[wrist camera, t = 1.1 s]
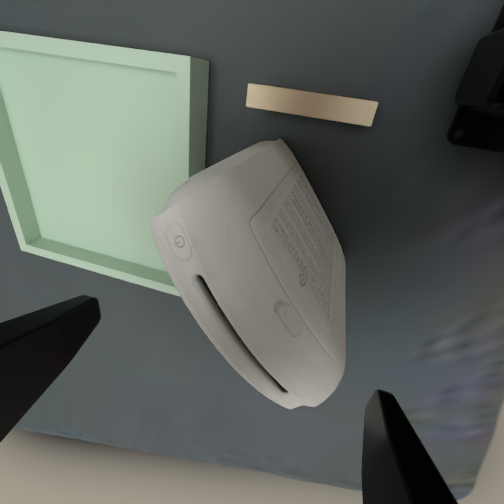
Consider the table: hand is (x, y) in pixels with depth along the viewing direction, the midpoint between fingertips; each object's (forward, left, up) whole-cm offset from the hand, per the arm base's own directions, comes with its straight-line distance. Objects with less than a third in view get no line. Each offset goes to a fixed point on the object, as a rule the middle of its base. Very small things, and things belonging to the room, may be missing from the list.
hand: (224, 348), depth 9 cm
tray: (+14, 0, -13) cm, 19 cm away
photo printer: (0, 0, -13) cm, 13 cm away
